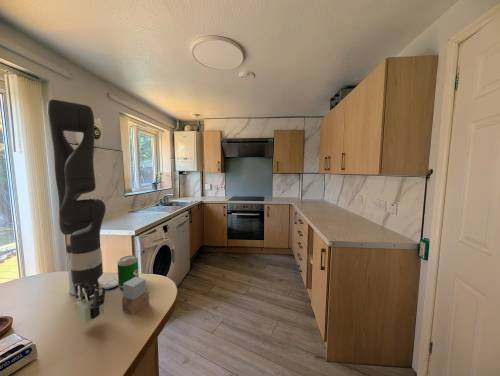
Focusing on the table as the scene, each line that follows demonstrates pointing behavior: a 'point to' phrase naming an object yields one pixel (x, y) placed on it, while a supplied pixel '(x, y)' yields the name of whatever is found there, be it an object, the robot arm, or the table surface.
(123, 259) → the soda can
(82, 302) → the sage cube
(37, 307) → the table surface
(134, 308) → the walnut block
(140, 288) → the slate cube
